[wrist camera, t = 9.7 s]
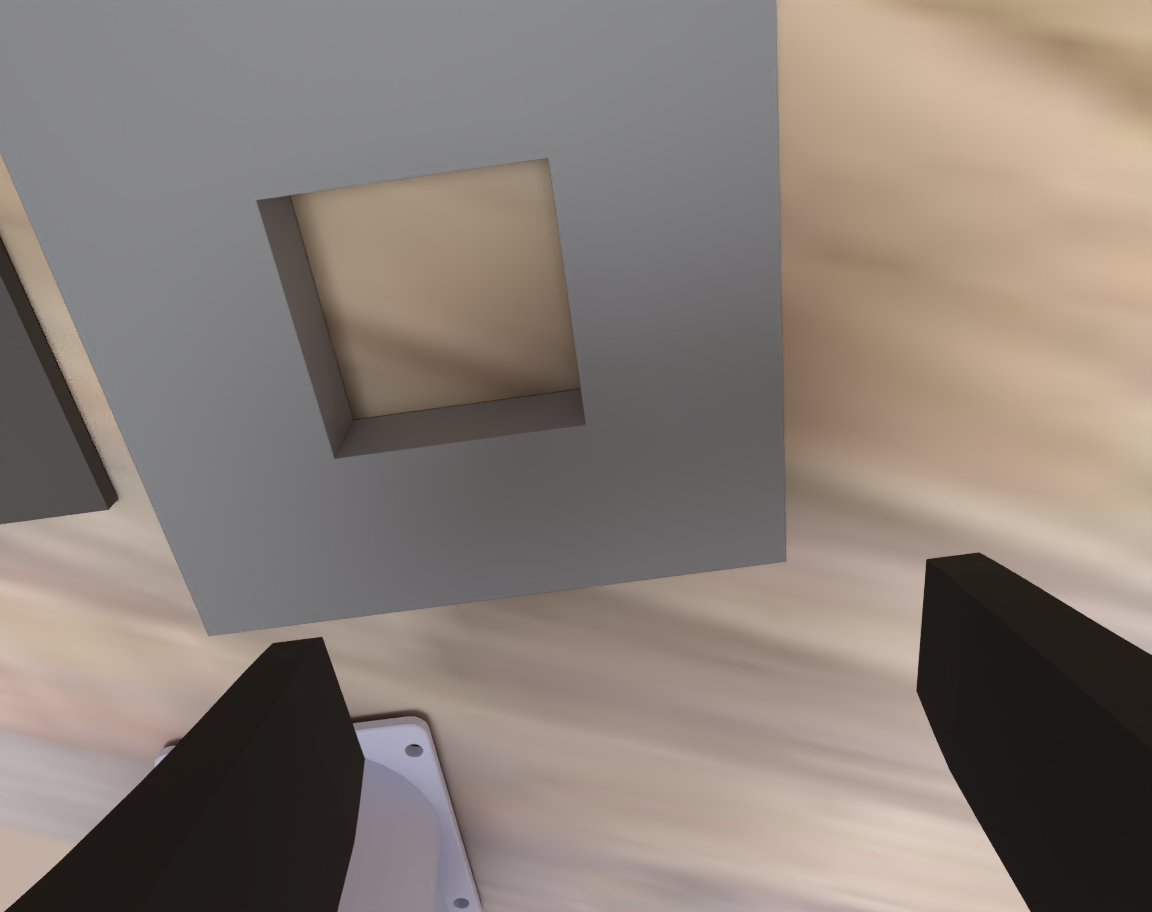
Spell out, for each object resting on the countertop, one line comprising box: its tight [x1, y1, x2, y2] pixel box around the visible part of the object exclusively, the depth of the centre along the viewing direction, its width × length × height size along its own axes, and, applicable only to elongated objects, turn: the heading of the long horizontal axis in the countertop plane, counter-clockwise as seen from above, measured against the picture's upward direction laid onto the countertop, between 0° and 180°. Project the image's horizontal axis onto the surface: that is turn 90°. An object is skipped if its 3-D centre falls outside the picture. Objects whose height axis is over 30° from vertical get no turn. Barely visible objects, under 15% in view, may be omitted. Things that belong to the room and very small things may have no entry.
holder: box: [0, 0, 786, 636], centre depth 18 cm, size 14×14×2 cm
